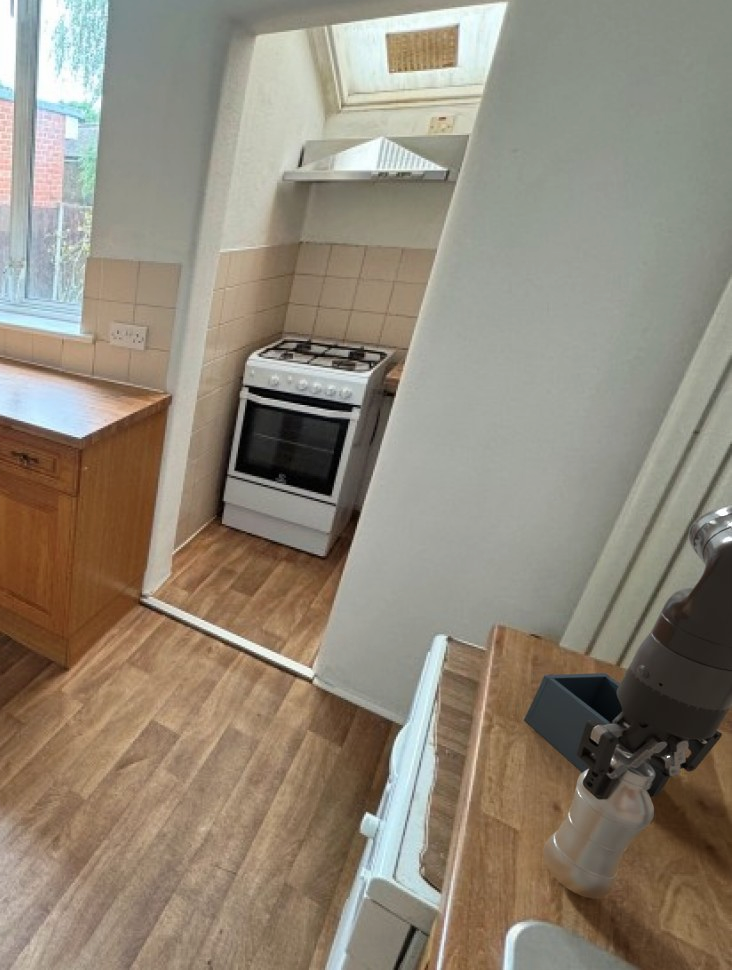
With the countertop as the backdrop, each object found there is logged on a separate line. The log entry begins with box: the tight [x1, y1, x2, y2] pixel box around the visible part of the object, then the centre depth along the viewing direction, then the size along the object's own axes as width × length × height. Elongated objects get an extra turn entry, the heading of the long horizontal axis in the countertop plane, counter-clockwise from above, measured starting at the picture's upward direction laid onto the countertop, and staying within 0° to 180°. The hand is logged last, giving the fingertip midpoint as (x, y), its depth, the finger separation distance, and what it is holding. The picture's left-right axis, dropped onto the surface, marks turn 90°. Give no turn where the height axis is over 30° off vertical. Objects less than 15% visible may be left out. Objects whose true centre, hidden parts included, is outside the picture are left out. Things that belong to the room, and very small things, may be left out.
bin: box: [523, 672, 650, 773], centre depth 95 cm, size 11×11×10 cm
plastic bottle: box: [542, 751, 655, 899], centre depth 73 cm, size 6×7×20 cm
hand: (619, 791), depth 71 cm, fingers closed on plastic bottle, 5 cm apart
